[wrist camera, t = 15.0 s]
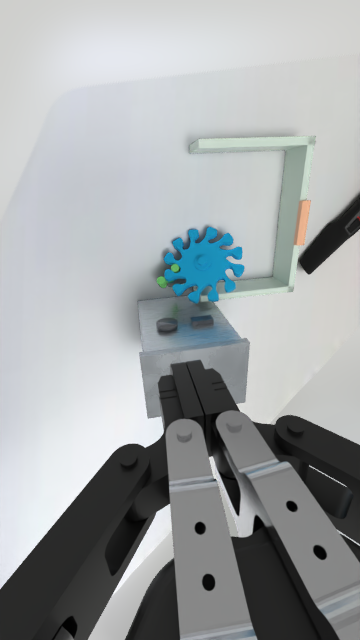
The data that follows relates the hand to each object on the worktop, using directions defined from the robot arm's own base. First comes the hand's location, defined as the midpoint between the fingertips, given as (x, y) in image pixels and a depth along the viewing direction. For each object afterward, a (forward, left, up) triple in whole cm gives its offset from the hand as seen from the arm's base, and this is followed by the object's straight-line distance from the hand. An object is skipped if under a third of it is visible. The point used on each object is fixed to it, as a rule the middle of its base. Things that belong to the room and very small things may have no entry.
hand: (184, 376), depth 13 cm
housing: (+3, -9, -26) cm, 27 cm away
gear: (+6, -1, -26) cm, 27 cm away
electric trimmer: (+28, +2, -26) cm, 38 cm away
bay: (+12, +4, -26) cm, 28 cm away
